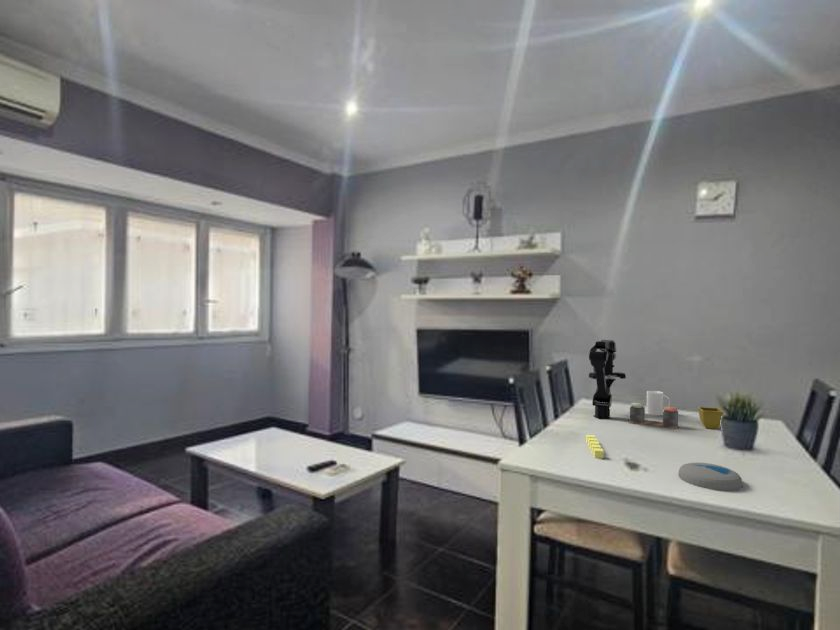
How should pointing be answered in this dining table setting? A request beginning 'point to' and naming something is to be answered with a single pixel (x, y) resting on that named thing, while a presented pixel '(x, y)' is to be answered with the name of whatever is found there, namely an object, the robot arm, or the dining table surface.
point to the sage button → (637, 405)
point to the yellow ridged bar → (594, 446)
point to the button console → (668, 421)
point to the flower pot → (710, 417)
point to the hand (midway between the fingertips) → (606, 391)
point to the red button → (670, 409)
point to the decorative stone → (710, 476)
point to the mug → (655, 403)
